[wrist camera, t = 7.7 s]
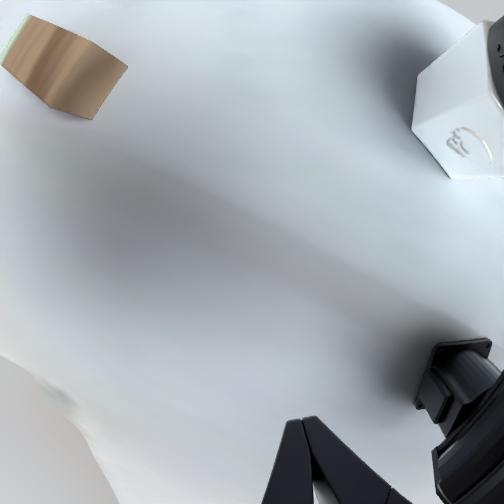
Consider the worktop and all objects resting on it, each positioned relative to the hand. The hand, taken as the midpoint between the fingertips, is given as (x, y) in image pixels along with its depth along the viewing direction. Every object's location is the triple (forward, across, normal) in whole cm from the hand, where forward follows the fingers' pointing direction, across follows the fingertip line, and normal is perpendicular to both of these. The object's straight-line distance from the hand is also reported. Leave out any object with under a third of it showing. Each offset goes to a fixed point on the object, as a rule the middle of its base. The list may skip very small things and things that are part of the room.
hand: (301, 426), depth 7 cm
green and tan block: (+14, +10, -15) cm, 23 cm away
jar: (+12, -16, -9) cm, 22 cm away
